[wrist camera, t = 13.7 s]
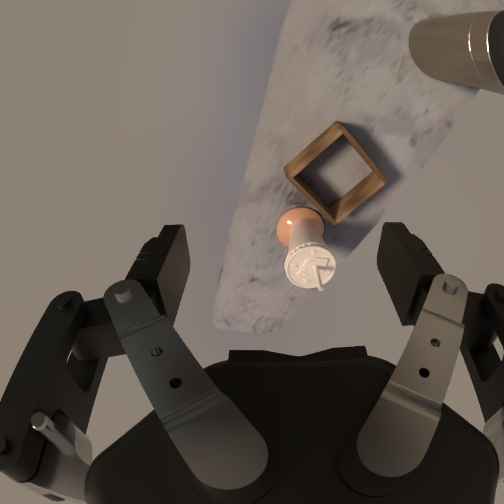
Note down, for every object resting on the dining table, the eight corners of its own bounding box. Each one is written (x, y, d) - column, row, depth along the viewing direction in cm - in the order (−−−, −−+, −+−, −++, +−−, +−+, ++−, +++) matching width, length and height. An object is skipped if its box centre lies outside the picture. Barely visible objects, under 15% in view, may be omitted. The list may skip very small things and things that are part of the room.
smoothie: (331, 233, 46) (353, 295, 34) (296, 255, 48) (306, 320, 37) (309, 201, 43) (327, 258, 32) (272, 225, 46) (276, 287, 34)
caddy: (335, 121, 37) (343, 126, 34) (378, 171, 41) (388, 181, 38) (283, 167, 41) (285, 177, 38) (328, 213, 45) (334, 226, 42)
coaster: (302, 197, 44) (302, 199, 43) (332, 228, 46) (333, 230, 46) (266, 228, 47) (266, 230, 46) (298, 256, 49) (298, 258, 49)
